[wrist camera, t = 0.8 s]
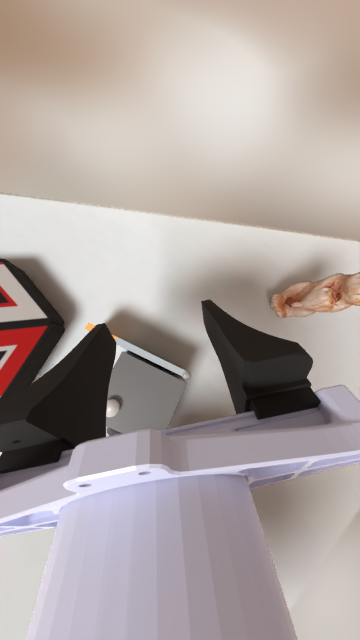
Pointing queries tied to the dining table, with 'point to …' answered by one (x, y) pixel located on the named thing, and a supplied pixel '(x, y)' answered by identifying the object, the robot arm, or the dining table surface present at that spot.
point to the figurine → (318, 296)
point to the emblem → (23, 330)
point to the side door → (148, 356)
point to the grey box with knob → (140, 396)
